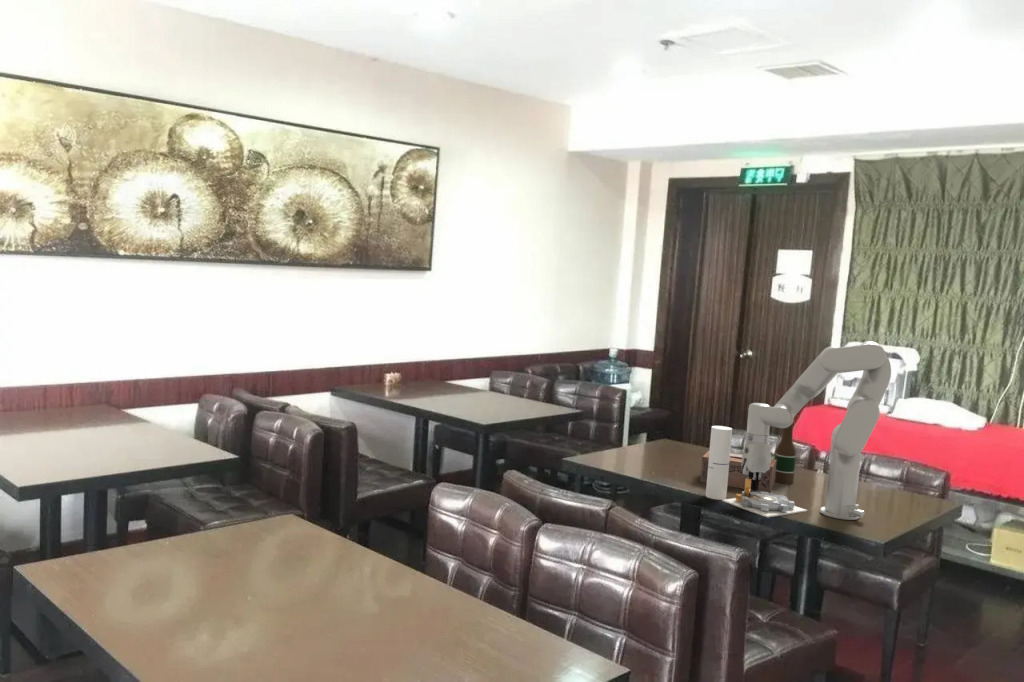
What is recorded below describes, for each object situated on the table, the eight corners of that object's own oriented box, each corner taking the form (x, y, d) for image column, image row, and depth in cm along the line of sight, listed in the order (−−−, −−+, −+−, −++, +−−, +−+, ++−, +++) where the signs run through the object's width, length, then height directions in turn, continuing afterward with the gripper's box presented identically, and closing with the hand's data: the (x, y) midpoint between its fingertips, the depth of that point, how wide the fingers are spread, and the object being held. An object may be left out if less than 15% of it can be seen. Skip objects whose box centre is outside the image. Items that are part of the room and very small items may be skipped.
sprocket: (792, 500, 291) (794, 478, 291) (794, 515, 273) (797, 491, 272) (736, 493, 297) (738, 471, 296) (735, 506, 278) (737, 483, 278)
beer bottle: (771, 478, 327) (777, 419, 325) (792, 480, 326) (797, 420, 324) (773, 483, 320) (779, 422, 317) (794, 485, 318) (800, 424, 316)
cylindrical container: (722, 500, 288) (728, 430, 286) (702, 496, 292) (708, 427, 290) (728, 496, 294) (735, 428, 292) (709, 492, 298) (715, 424, 296)
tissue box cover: (774, 485, 318) (776, 459, 317) (770, 493, 305) (772, 466, 304) (707, 474, 328) (709, 449, 327) (700, 482, 315) (702, 456, 314)
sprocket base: (807, 511, 282) (807, 510, 282) (767, 517, 271) (767, 516, 271) (761, 495, 299) (761, 494, 299) (722, 501, 288) (722, 499, 288)
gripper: (750, 442, 280) (746, 494, 282) (780, 439, 288) (776, 491, 289) (734, 437, 287) (729, 489, 288) (764, 435, 294) (759, 485, 296)
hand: (753, 489), depth 289 cm, fingers closed
